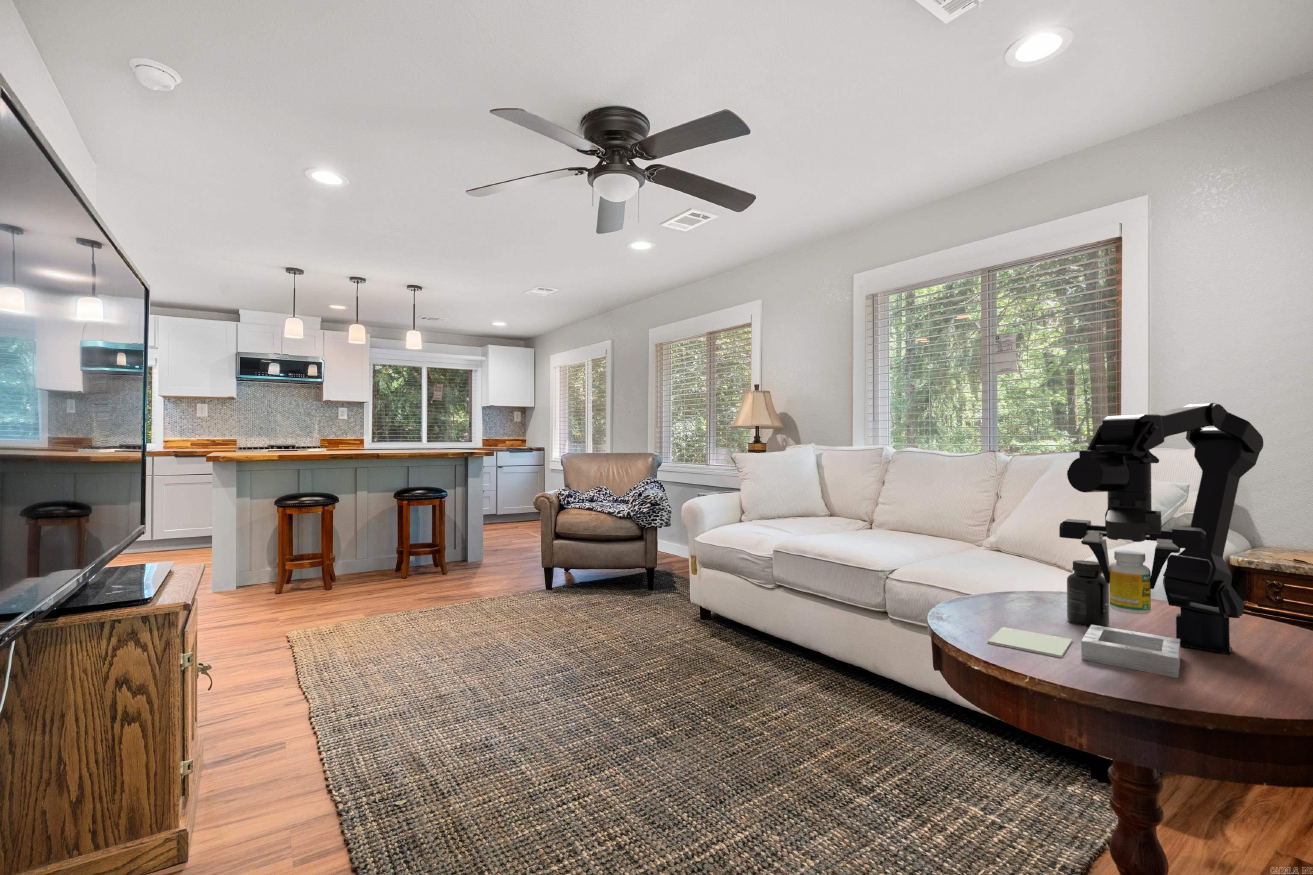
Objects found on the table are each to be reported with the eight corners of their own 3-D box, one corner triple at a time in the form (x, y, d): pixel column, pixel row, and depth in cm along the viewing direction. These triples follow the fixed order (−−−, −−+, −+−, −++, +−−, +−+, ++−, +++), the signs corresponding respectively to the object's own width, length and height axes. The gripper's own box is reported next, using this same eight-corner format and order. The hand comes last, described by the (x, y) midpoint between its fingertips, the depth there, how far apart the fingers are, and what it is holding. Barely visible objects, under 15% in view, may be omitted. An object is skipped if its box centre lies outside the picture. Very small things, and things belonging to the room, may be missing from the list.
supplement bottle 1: (1117, 629, 115) (1116, 566, 115) (1076, 627, 116) (1076, 564, 116) (1098, 619, 121) (1097, 559, 121) (1060, 617, 123) (1060, 558, 123)
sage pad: (1072, 641, 107) (1072, 639, 107) (1061, 657, 99) (1061, 655, 99) (1002, 628, 115) (1002, 626, 115) (987, 643, 107) (987, 640, 107)
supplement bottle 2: (1112, 604, 103) (1112, 548, 103) (1153, 610, 99) (1152, 552, 99) (1106, 610, 99) (1106, 552, 99) (1148, 617, 95) (1148, 556, 96)
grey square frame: (1180, 657, 100) (1180, 638, 100) (1178, 678, 91) (1178, 658, 91) (1091, 641, 108) (1091, 624, 108) (1081, 659, 99) (1081, 640, 99)
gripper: (1053, 490, 100) (1053, 585, 100) (1205, 497, 87) (1206, 605, 87) (1064, 487, 108) (1065, 574, 108) (1205, 492, 95) (1206, 591, 95)
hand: (1129, 585), depth 99 cm, fingers closed on supplement bottle 2, 5 cm apart
